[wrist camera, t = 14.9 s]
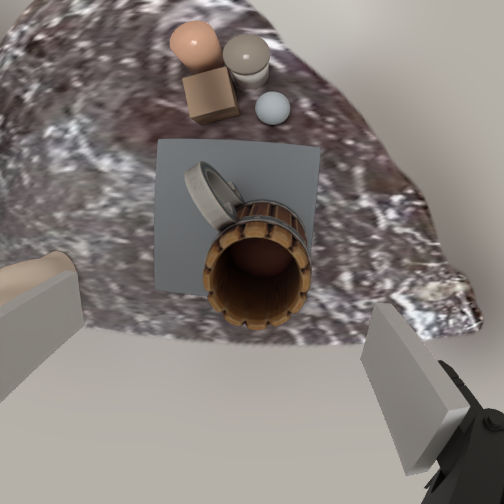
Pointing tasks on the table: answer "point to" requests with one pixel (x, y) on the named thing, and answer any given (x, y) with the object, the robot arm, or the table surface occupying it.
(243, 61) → the jar
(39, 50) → the table surface
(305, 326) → the table surface
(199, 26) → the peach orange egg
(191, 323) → the table surface
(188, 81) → the walnut block
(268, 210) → the mug
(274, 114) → the grey ball
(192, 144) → the slate pad
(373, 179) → the table surface
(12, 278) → the cream corked bottle
